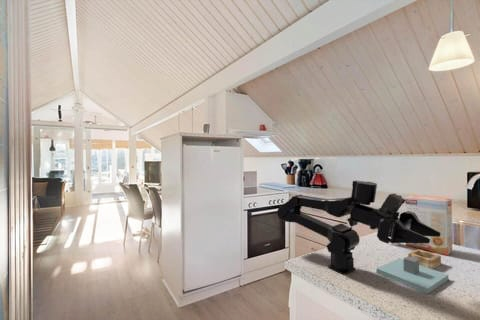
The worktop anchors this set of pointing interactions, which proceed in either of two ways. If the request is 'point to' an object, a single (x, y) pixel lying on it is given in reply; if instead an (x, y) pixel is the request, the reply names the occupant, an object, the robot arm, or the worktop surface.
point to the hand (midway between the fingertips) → (435, 237)
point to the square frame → (426, 258)
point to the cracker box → (433, 221)
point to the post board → (413, 274)
